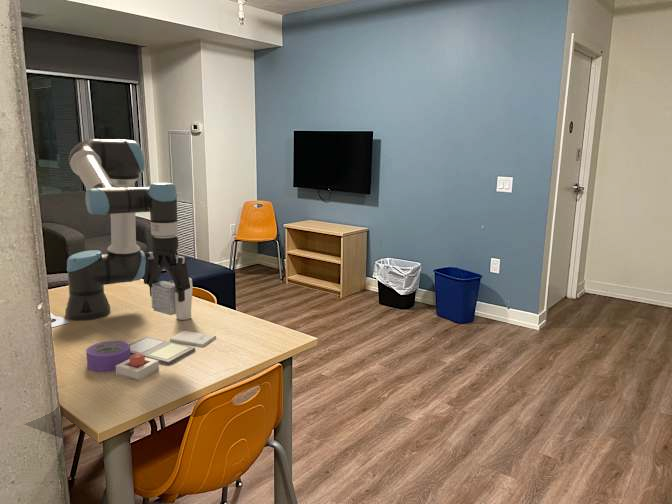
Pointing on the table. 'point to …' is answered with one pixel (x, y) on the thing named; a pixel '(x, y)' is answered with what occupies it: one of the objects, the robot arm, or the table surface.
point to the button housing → (137, 369)
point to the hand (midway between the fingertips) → (167, 309)
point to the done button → (137, 360)
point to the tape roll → (107, 355)
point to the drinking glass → (186, 304)
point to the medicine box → (164, 297)
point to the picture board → (160, 350)
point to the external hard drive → (192, 338)
